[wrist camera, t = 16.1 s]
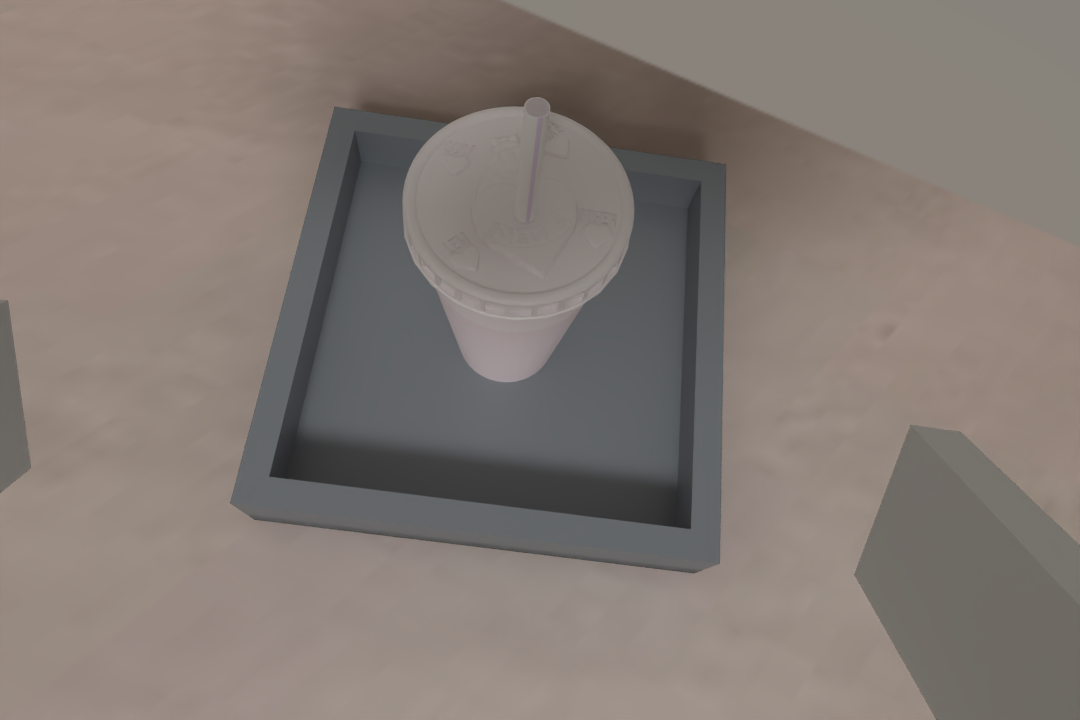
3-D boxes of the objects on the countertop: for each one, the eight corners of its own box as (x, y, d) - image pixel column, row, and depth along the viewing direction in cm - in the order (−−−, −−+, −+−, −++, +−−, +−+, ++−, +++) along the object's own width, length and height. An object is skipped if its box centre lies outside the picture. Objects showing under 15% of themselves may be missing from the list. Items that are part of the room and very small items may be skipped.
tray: (704, 205, 34) (726, 164, 31) (694, 573, 28) (719, 563, 25) (345, 153, 33) (334, 106, 30) (254, 519, 27) (229, 503, 24)
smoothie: (441, 433, 28) (411, 241, 15) (408, 280, 30) (356, -7, 17) (607, 396, 29) (717, 185, 16) (563, 251, 31) (628, -41, 18)
